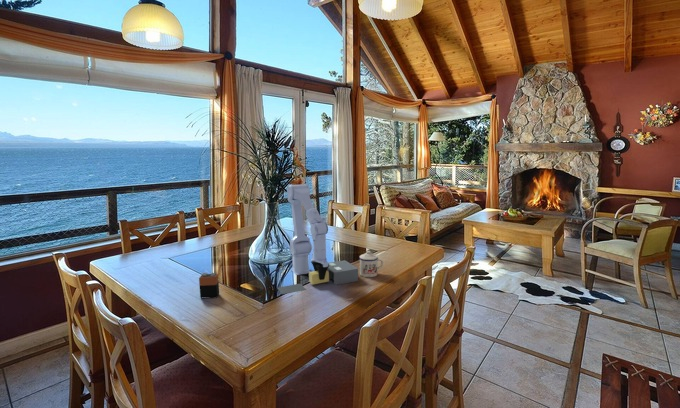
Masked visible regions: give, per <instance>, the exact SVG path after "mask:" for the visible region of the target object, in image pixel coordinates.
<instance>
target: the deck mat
mask: <svg viewBox="0 0 680 408" xmlns="http://www.w3.org/2000/svg"><path fill="white" fill-rule="evenodd" d="M276 289H277V290H278V292H279V293H280V294H281V295H284V294H285V295H286V294H291V293H296V292H297V293H298V292H303V291H307V288H305V287H304V285H303V284H302V283H296V284H288V285H284V286H279V287H276Z"/></svg>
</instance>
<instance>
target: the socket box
mask: <svg viewBox="0 0 680 408" xmlns="http://www.w3.org/2000/svg"><path fill="white" fill-rule="evenodd" d="M328 265H329V267H328V269H327V271H328V272H329V281H330V280H331V281H333V285H343V284H347V283H354V282H358V281H359V268H358V267H356V266H355V265H353V264H352V263H350V262H349V261H347V260H345V259H344V260H337V261H331V262H328Z"/></svg>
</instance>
